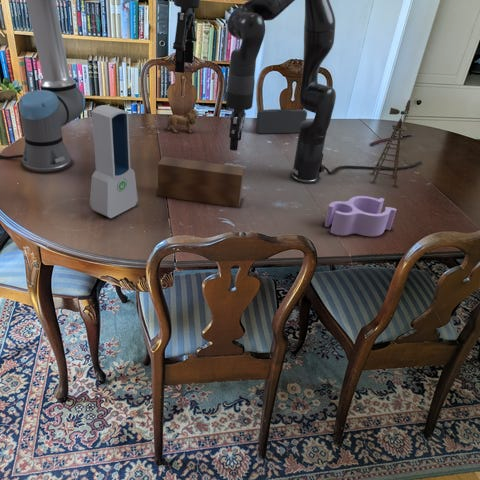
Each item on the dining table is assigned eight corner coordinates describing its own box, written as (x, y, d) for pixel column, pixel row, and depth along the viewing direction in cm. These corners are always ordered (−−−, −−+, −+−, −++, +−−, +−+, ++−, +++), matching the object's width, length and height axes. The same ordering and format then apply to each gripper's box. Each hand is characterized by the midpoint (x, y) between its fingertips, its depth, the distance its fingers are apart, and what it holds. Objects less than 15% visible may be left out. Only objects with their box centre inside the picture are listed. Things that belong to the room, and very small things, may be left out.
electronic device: (108, 220, 133) (101, 117, 116) (89, 211, 136) (79, 109, 119) (138, 204, 142) (135, 106, 125) (120, 196, 145) (115, 100, 129)
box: (158, 196, 148) (157, 163, 142) (163, 187, 153) (163, 156, 147) (238, 207, 146) (242, 175, 140) (241, 198, 151) (244, 167, 145)
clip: (337, 240, 135) (342, 219, 131) (318, 218, 145) (322, 198, 141) (395, 233, 141) (402, 213, 137) (373, 213, 151) (378, 194, 147)
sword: (408, 133, 222) (409, 131, 221) (413, 135, 220) (414, 133, 219) (365, 145, 206) (365, 142, 205) (370, 147, 204) (371, 145, 203)
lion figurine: (196, 128, 202) (197, 107, 197) (199, 132, 198) (200, 111, 193) (162, 129, 197) (162, 108, 192) (165, 133, 193) (165, 112, 188)
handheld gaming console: (301, 130, 212) (305, 108, 207) (304, 132, 210) (308, 110, 205) (254, 131, 205) (257, 109, 200) (256, 134, 203) (259, 111, 197)
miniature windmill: (395, 186, 170) (420, 105, 154) (372, 182, 171) (394, 101, 155) (394, 176, 177) (417, 97, 161) (371, 173, 178) (392, 94, 162)
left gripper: (191, -3, 125) (188, 78, 136) (207, -11, 146) (202, 60, 157) (164, -7, 125) (162, 75, 137) (183, -14, 146) (181, 57, 158)
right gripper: (251, 98, 124) (245, 155, 132) (256, 85, 136) (250, 138, 144) (223, 94, 124) (219, 152, 133) (230, 81, 136) (226, 135, 145)
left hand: (184, 67), depth 147 cm, fingers open, 13 cm apart
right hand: (235, 144), depth 139 cm, fingers open, 8 cm apart
